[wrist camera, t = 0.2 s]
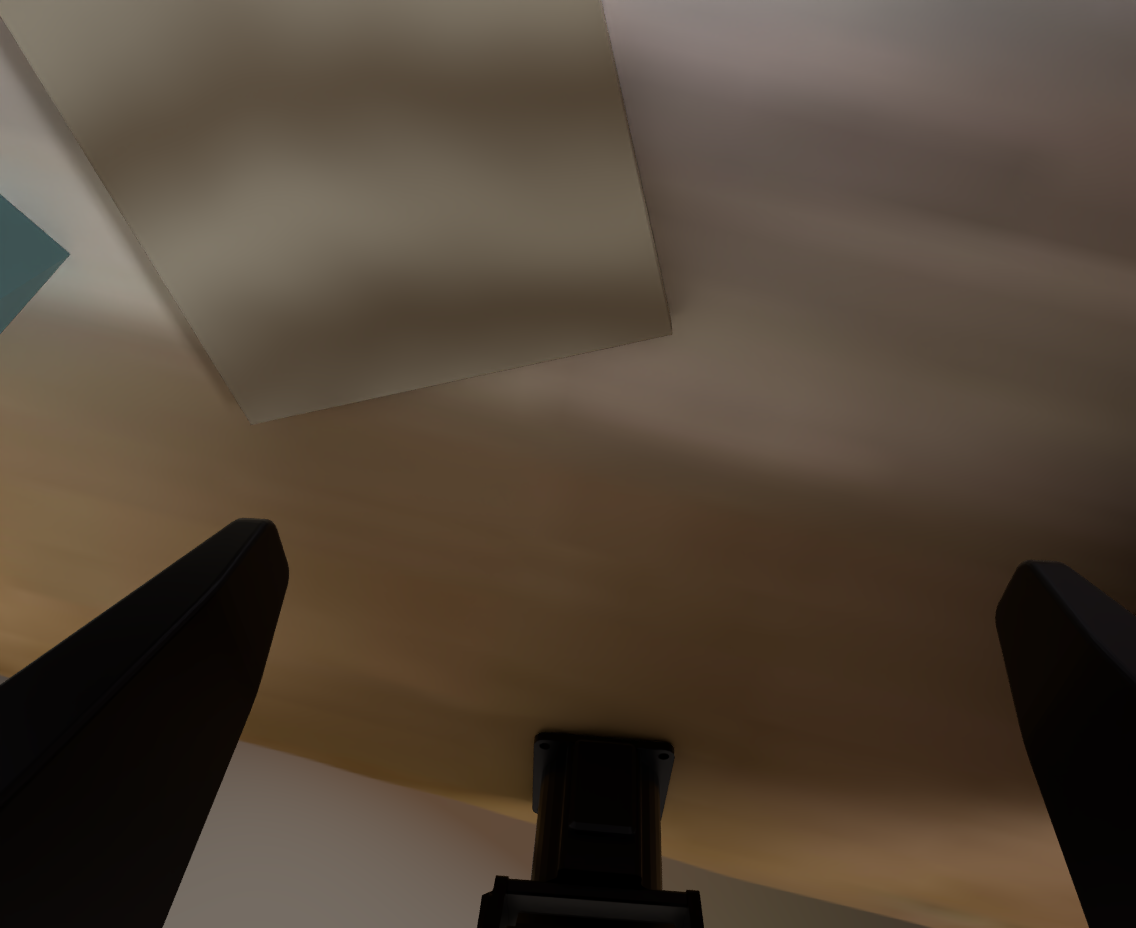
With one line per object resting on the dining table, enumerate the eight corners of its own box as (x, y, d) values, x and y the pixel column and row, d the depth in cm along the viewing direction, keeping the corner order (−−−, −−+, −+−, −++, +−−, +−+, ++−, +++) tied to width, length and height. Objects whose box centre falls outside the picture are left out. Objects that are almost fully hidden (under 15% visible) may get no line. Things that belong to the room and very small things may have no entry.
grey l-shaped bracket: (671, 318, 23) (693, 581, 14) (262, 408, 26) (73, 671, 17) (505, -437, 14) (300, -962, 6) (-82, -172, 17) (-822, -236, 9)
